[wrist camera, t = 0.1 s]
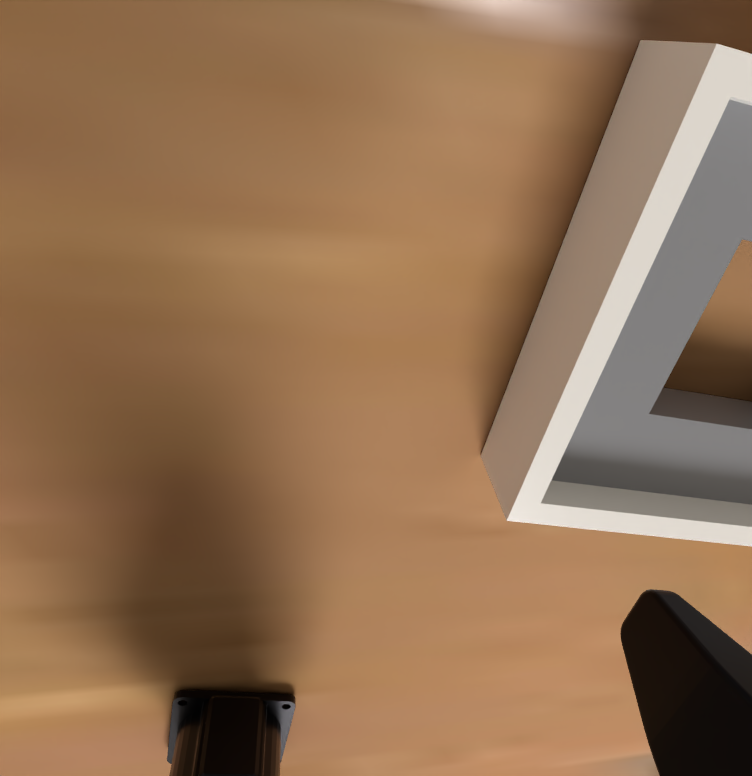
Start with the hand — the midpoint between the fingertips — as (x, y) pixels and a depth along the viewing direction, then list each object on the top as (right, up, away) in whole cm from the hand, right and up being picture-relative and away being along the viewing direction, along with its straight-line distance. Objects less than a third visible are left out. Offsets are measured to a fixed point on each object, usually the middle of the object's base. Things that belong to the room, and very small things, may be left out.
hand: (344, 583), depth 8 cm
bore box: (+14, +5, +16) cm, 22 cm away
